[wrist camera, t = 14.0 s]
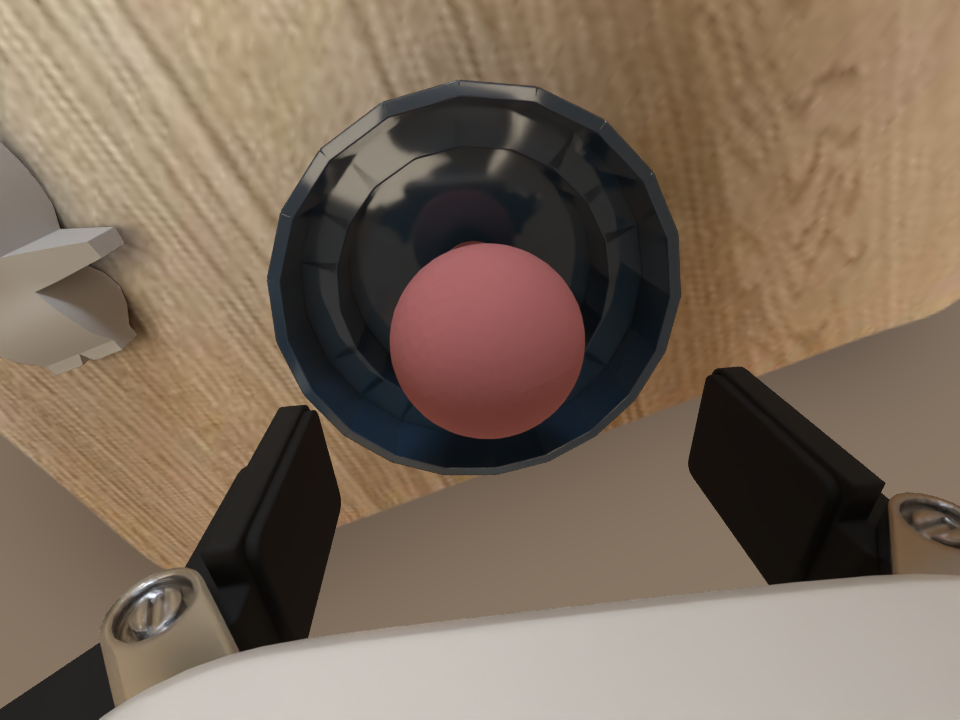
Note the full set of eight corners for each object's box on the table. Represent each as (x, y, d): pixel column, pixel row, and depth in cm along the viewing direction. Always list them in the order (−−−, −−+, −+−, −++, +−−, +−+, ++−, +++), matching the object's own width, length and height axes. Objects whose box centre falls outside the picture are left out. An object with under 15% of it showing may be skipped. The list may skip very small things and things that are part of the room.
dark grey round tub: (250, 299, 24) (192, 352, 19) (443, 1, 19) (445, -54, 13) (489, 448, 30) (501, 523, 24) (685, 250, 25) (759, 286, 19)
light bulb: (458, 359, 26) (472, 513, 16) (376, 263, 24) (326, 373, 13) (561, 289, 25) (652, 407, 14) (487, 177, 22) (534, 221, 11)
